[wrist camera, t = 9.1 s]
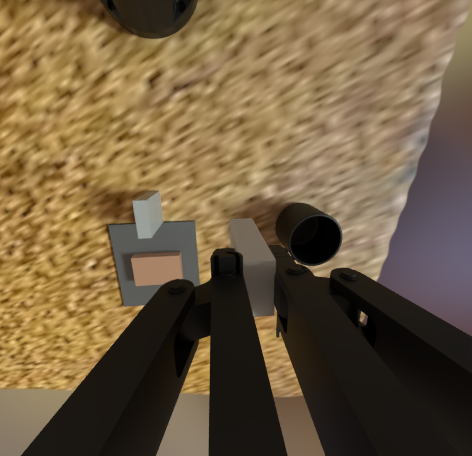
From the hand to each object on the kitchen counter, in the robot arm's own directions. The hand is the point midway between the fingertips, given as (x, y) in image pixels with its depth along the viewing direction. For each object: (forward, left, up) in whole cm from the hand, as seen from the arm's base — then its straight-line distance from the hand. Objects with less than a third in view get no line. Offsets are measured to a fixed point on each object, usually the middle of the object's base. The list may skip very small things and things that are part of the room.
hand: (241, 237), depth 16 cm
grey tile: (+4, -13, -30) cm, 32 cm away
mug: (+10, +14, -30) cm, 34 cm away
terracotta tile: (+16, -9, -28) cm, 33 cm away
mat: (+16, -14, -29) cm, 36 cm away
